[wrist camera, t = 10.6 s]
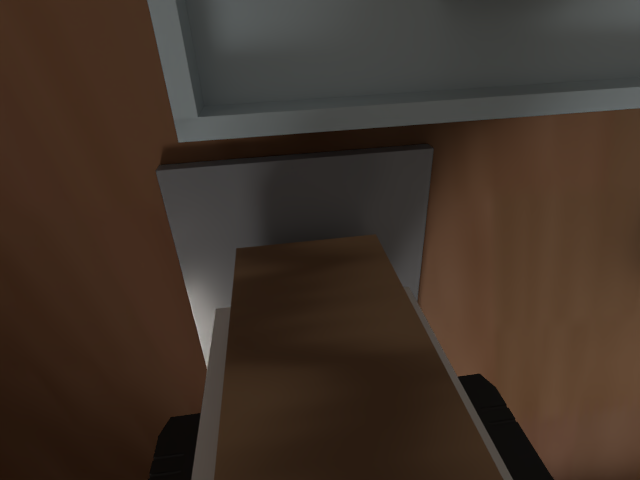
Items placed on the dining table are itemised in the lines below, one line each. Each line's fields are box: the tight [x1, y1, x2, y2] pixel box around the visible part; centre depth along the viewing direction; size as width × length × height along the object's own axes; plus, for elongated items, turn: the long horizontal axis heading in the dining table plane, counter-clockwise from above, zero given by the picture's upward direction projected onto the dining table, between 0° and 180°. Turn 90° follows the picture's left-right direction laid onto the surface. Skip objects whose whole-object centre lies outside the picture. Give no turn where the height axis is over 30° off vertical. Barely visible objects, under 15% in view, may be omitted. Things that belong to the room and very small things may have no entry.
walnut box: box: [214, 234, 503, 480], centre depth 10 cm, size 5×5×12 cm
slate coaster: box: [156, 144, 434, 367], centre depth 17 cm, size 10×10×1 cm
